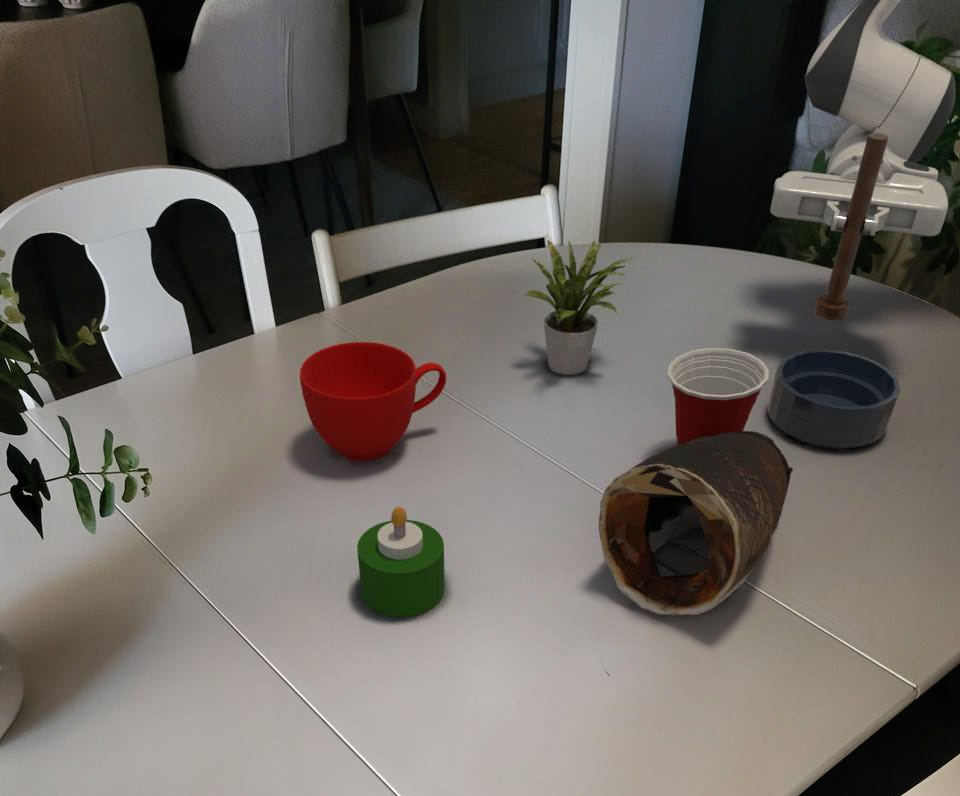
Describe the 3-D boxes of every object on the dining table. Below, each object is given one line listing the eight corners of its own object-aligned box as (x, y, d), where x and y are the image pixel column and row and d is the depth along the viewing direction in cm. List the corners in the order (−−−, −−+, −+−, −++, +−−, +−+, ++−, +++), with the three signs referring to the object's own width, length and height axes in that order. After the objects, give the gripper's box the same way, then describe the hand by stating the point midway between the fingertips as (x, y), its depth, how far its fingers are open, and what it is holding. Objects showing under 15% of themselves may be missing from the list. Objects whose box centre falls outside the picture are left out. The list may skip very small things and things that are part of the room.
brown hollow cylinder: (845, 410, 100) (756, 482, 82) (816, 546, 108) (729, 639, 90) (709, 385, 107) (600, 447, 89) (691, 514, 115) (588, 595, 97)
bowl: (857, 390, 126) (870, 347, 122) (904, 449, 116) (920, 405, 112) (751, 395, 125) (761, 352, 121) (790, 456, 115) (802, 411, 111)
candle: (343, 591, 96) (334, 509, 90) (401, 552, 101) (396, 471, 94) (404, 629, 93) (400, 546, 86) (461, 586, 97) (461, 504, 90)
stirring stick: (839, 305, 124) (888, 130, 110) (851, 319, 121) (903, 141, 107) (809, 306, 124) (854, 130, 109) (820, 321, 121) (868, 142, 106)
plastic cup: (649, 435, 118) (663, 343, 110) (739, 437, 118) (759, 345, 109) (658, 487, 110) (674, 392, 102) (754, 489, 110) (778, 394, 102)
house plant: (619, 402, 123) (635, 276, 112) (511, 391, 125) (516, 266, 114) (626, 349, 134) (641, 229, 122) (526, 340, 135) (532, 220, 124)
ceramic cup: (466, 456, 114) (466, 378, 107) (326, 486, 109) (317, 408, 102) (427, 402, 123) (425, 328, 116) (296, 429, 118) (286, 353, 111)
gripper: (781, 151, 124) (770, 187, 114) (951, 170, 119) (954, 210, 110) (771, 202, 128) (758, 242, 119) (934, 222, 124) (935, 265, 114)
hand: (854, 226), depth 114 cm, fingers closed on stirring stick, 2 cm apart
